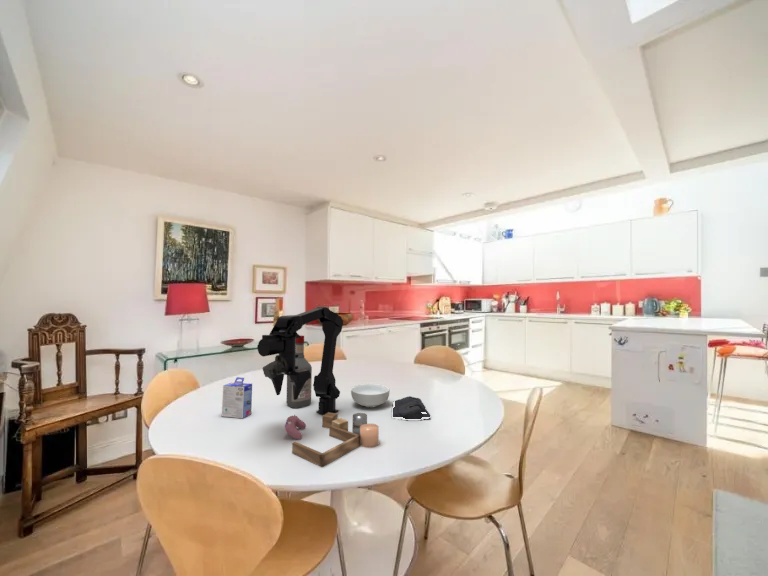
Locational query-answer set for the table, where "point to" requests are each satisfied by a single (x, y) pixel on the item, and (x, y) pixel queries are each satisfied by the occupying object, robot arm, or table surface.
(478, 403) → the table surface
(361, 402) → the cereal bowl
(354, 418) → the dark tin
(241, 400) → the ink cartridge box
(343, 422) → the oak cube
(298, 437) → the video game controller
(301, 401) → the liquor
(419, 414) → the dark slate chunk
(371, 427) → the peach cylinder puck
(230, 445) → the table surface
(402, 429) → the table surface
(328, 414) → the walnut cube
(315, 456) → the frame
